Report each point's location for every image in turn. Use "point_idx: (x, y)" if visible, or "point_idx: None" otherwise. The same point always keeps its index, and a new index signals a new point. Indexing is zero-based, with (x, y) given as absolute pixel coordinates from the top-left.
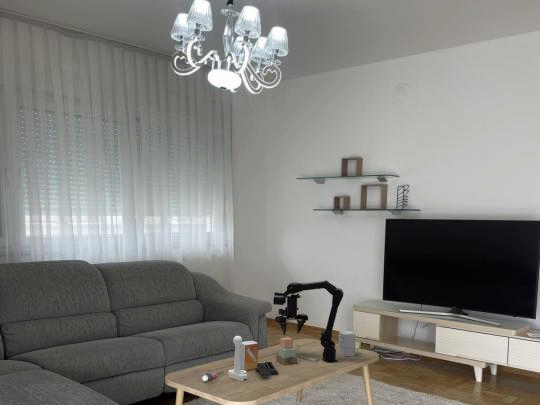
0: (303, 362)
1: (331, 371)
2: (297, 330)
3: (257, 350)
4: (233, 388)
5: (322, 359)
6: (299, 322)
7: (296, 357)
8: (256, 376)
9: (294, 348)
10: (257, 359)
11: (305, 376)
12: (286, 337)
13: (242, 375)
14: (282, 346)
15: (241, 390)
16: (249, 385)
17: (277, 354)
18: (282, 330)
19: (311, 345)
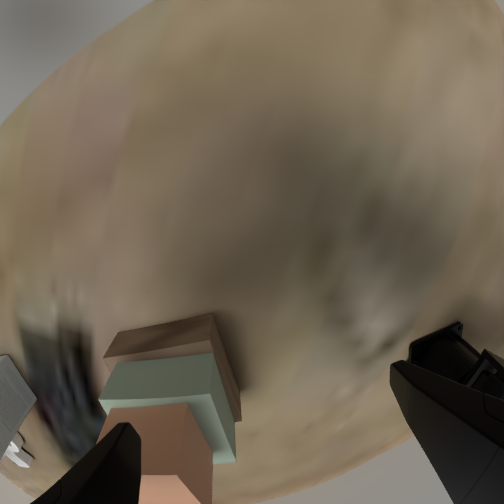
0: (289, 379)
1: (346, 467)
2: (408, 384)
3: (2, 454)
4: (24, 475)
5: (410, 355)
6: (494, 501)
7: (238, 417)
8: (52, 453)
9: (228, 450)
10: (20, 425)
11: (223, 495)
12: (153, 481)
13: (19, 463)
14: None
15: (43, 489)
16: (51, 482)
17: (111, 361)
18: (84, 466)
19: (466, 40)
